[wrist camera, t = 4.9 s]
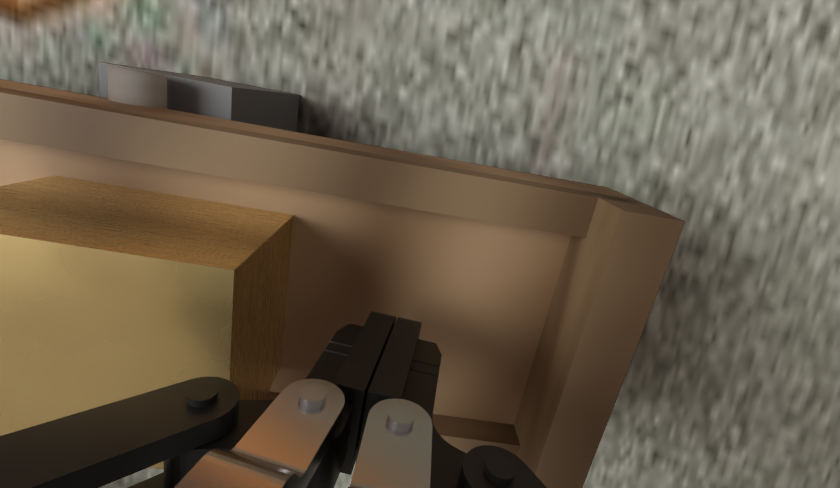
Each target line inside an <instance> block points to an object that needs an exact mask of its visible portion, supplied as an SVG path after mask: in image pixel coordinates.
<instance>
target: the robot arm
mask: <svg viewBox="0 0 840 488" xmlns="http://www.w3.org/2000/svg"><path fill="white" fill-rule="evenodd" d="M421 325H422V322H418V321H414V320H409V319H405V318H401V317H397V320H396V316H392V315H387V314H383V313H378V312H374V311H371V313H370V315H369V317H368V318H367V320H366V322H365V324H364V326H359V325H355V324H348V325H346V326H344V327H343V328H341V329H339V330H337V332H336V333H335V335H334V336H333V338H332V339H331V341H330V343H329V344H328V345H327V347H326V348H325V351H324V352H323V353H322V355H321V356H320V358H319V359H318V361H317V362H316V364H315V365H314V367H313V368H312V370H311V371H310V373H309V374H308V376H307V377H306V379H303V380H299V381H296V382H293V383H291V384H290V385H288V386H287V387H285V388H284V389H283V390H282V392H281V393H280V394H279V395H278V396H277V397H276V399H270V400H239V390H238V388H237V386H236V385H235V384H234V383H232V382H231V381H229V380H227V379H224V378H220V377H210V376H209V377H199V378H194V379H190V380H187V381H183V382H180V383H176V384H173V385H170V386H166V387H163V388H160V389H156V390H153V391H150V392H146V393H143V394H140V395H136V396H133V397H129V398H126V399H123V400H119V401H116V402H113V403H109V404H106V405H103V406H99V407H96V408H93V409H89V410H86V411H82V412H79V413H76V414H72V415H69V416H66V417H62V418H59V419H56V420H52V421H49V422H46V423H42V424H39V425H36V426H32V427H29V428H25V429H22V430H19V431H15V432H12V433H9V434H5V435H2V436H0V488H99V487H101V486H103V485H106V484H108V483H111V482H113V481H116V480H118V479H121V478H123V477H126V476H128V475H130V474H133V473H135V472H138V471H140V470H143V469H145V468H148V467H150V466H153V465H155V464H158V463H160V462H162V461H164V473H161V474H159V475H157V476H154V477H152V478H149V479H147V480H145V481H142V482H140V483H138V484H135V485H133V486H131V487H128V488H334V486H335V483H336V481H337V478H338V475H339V473H340V472H342V473H346V474H350V475H351V473H352V470H353V467H354V464H355V462H356V465H355V469H354V473H353V477H352V481H351V484H350V487H348V488H547V487H546V486H545V485H544V484H543V483H542V482H541V480H540V479H539V478H538V477H537V476H536V475H535V474H534V473H533V472H532V471H531V469H530V468H529V467H528V466H527V465H526V464H525V463H524V462H523V461H522V460H521V459H520V458H519V457H517V456H516V455H515V454H513V453H512V452H510V451H508V450H506V449H504V448H501V447H497V446H492V445H481V446H477V447H475V448H473V449H471V450H470V451H469V452H468V453H465V452H463V451H461V450H459V449H457V448H455V447H454V446H452V445H450V444H449V443H448V442H447V441H445V440H444V439H443V438H442V437H441V436H440V434H439V433H438V432H437V430H436V428H435V426H434V424H433V409H434V402H435V396H436V389H437V383H438V376H439V369H440V363H441V356H442V354H441V352H440V350H439V348H438V346H437V344H436V343H433V342H429V341H425V340H420V339H419V335H420V330H421Z"/></svg>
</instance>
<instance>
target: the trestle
mask: <svg viewBox="0 0 840 488" xmlns="http://www.w3.org/2000/svg"><path fill="white" fill-rule="evenodd" d="M107 66H115V67H122V68H128V69H135V70H141V71H146V72H152V73H157V74H162V75H166V76H167V109H170V110H176V111H181V112H187V113H193V114H198V115H204V116H210V117H215V118H221V119H226V120H232V121H238V122H243V123H249V124H254V125H260V126H266V127H271V128H277V129H282V130H288V131H294V132H297V122H298V110H299V97H300V95H298V94H292V93H287V92H282V91H277V90H271V89H266V88H261V87H255V86H250V85H245V84H239V83H234V82H229V81H224V80H218V79H213V78H208V77H202V76H196V75H189V74H181V73H174V72H167V71H160V70H153V69H146V68H139V67H132V66H125V65H117V64H110V63H103V62H98V70H99V87H100V97H103V98H108V79H107Z"/></svg>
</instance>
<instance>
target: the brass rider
mask: <svg viewBox="0 0 840 488" xmlns="http://www.w3.org/2000/svg"><path fill="white" fill-rule="evenodd" d="M293 218H294V215H291V214H285V213H279V212H273V211H267V210H261V209H255V208H249V207H243V206H237V205H231V204H225V203H219V202H213V201H206V200H200V199H194V198H188V197H182V196H176V195H170V194H164V193H158V192H152V191H146V190H140V189H134V188H128V187H122V186H116V185H110V184H103V183H97V182H91V181H85V180H79V179H73V178H67V177H61V176H55V175H54V176H49V177H44V178H39V179H34V180H29V181H24V182H19V183H14V184H9V185H4V186H0V436H2V435H5V434H9V433H12V432H15V431H19V430H22V429H25V428H29V427H32V426H36V425H39V424H42V423H46V422H49V421H52V420H56V419H59V418H62V417H66V416H69V415H72V414H76V413H79V412H82V411H86V410H89V409H93V408H96V407H99V406H103V405H106V404H109V403H113V402H116V401H119V400H123V399H126V398H129V397H133V396H136V395H140V394H143V393H146V392H150V391H153V390H156V389H160V388H163V387H166V386H170V385H173V384H176V383H180V382H183V381H187V380H190V379H194V378H199V377H209V376H210V377H220V378H224V379H227V380H229V381H231V382H232V383H234V384H235V385H236V386H237V388H238V390H239V400H265V398H266V396H267V394H268V392H269V390H270V388H271V386H272V384H273V382H274V380H275V378H276V376H277V374H278V372H279V370H280V368H281V359H282V347H283V336H284V324H285V312H286V300H287V289H288V277H289V265H290V254H291V242H292V230H293ZM149 468H158V469H164V461H162V462H160V463H158V464H155V465H153V466H150V467H149Z"/></svg>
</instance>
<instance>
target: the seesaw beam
mask: <svg viewBox="0 0 840 488" xmlns="http://www.w3.org/2000/svg"><path fill="white" fill-rule="evenodd" d="M107 79H108V98H103V97H97V96H92V95H86V94H80V93H75V92H69V91H64V90H58V89H52V88H47V87H41V86H36V85H30V84H24V83H19V82H13V81H8V80H2V79H0V186H4V185H9V184H14V183H19V182H24V181H29V180H34V179H39V178H44V177H49V176H54V175H55V176H61V177H67V178H73V179H79V180H85V181H91V182H97V183H103V184H110V185H116V186H122V187H128V188H134V189H140V190H146V191H152V192H158V193H164V194H170V195H176V196H182V197H188V198H194V199H200V200H206V201H213V202H219V203H225V204H231V205H237V206H243V207H249V208H255V209H261V210H267V211H273V212H279V213H285V214H291V215H294V218H293V230H292V242H291V254H290V265H289V277H288V289H287V300H286V312H285V324H284V336H283V347H282V359H281V368H280V370H279V372H278V374H277V376H276V378H275V380H274V382H273V384H272V386H271V388H270V390H269V392H268V394H267V396H266V398H265V400H270V399H276V397H277V396H278V395H279V394H280V393H281V392H282V390H283V389H284V388H285V387H287V386H288V385H290V384H291V383H293V382H296V381H299V380H303V379H306V377H307V376H308V374H309V373H310V371H311V370H312V368H313V367H314V365H315V364H316V362H317V361H318V359H319V358H320V356H321V355H322V353H323V352H324V351H325V348H326V347H327V345H328V344H329V343H330V341H331V339H332V338H333V336H334V335H335V333H336V332H337V330H339V329H341V328H343V327H344V326H346V325H348V324H355V325H359V326H364V324H365V322H366V320H367V318H368V317H369V315H370V313H371V311H374V312H378V313H383V314H387V315H392V316H396V320H397V317H401V318H405V319H409V320H414V321H418V322H422V325H421V330H420V335H419V339H420V340H425V341H429V342H433V343H436V344H437V346H438V348H439V350H440V352H441V354H442V356H441V363H440V369H439V376H438V383H437V389H436V396H435V402H434V409H433V424H434V426H435V428H436V430H437V432H438V433H439V434H440V436H441V437H442V438H443V439H444V440H445V441H447V442H448V443H449V444H450V445H452V446H454V447H455V448H457V449H459V450H461V451H463V452H465V453H468V452H469V451H470V450H471V449H473V448H475V447H477V446H481V445H492V446H497V447H501V448H504V449H506V450H508V451H510V452H512V453H513V454H515V455H516V456H517V457H519V458H520V459H521V460H522V461H523V462H524V463H525V464H526V465H527V466H528V467H529V468H530V469H531V471H532V472H533V473H534V474H535V475H536V476H537V477H538V478H539V479H540V480H541V482H542V483H543V484H544V485H545V486H546V487H547V488H582V487H583V484H584V482H585V479H586V476H587V474H588V471H589V469H590V466H591V463H592V461H593V458H594V456H595V453H596V451H597V448H598V445H599V443H600V440H601V438H602V435H603V432H604V430H605V427H606V425H607V422H608V420H609V417H610V414H611V412H612V409H613V407H614V404H615V402H616V399H617V396H618V394H619V391H620V389H621V386H622V383H623V381H624V378H625V376H626V373H627V371H628V368H629V365H630V363H631V360H632V358H633V355H634V352H635V350H636V347H637V345H638V342H639V340H640V337H641V334H642V332H643V329H644V327H645V324H646V321H647V319H648V316H649V314H650V311H651V309H652V306H653V303H654V301H655V298H656V296H657V293H658V290H659V288H660V285H661V283H662V280H663V278H664V275H665V272H666V270H667V267H668V265H669V262H670V259H671V257H672V254H673V252H674V249H675V247H676V244H677V241H678V239H679V236H680V234H681V231H682V228H683V226H684V223H685V221H683V220H680V219H678V218H676V217H674V216H671V215H669V214H667V213H664V212H662V211H660V210H658V209H655V208H653V207H651V206H648V205H646V204H644V203H642V202H639V201H637V200H635V199H632V198H630V197H628V196H626V195H623V194H621V193H619V192H616V191H614V190H612V189H609V188H607V187H602V186H597V185H591V184H585V183H580V182H574V181H569V180H563V179H557V178H552V177H546V176H541V175H535V174H529V173H524V172H518V171H512V170H507V169H501V168H496V167H490V166H484V165H479V164H473V163H468V162H462V161H456V160H451V159H445V158H440V157H434V156H428V155H423V154H417V153H411V152H406V151H400V150H395V149H389V148H383V147H378V146H372V145H367V144H361V143H355V142H350V141H344V140H339V139H333V138H327V137H322V136H316V135H310V134H305V133H299V132H294V131H288V130H282V129H277V128H271V127H266V126H260V125H254V124H249V123H243V122H238V121H232V120H226V119H221V118H215V117H210V116H204V115H198V114H193V113H187V112H181V111H176V110H170V109H167V76H166V75H162V74H157V73H152V72H146V71H141V70H135V69H128V68H122V67H115V66H107Z"/></svg>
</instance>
